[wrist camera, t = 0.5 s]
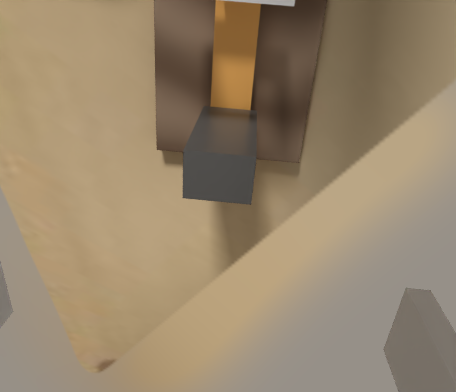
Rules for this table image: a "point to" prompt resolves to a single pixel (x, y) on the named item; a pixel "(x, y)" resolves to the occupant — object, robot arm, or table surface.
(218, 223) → the table surface
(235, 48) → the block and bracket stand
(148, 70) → the table surface
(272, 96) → the board
